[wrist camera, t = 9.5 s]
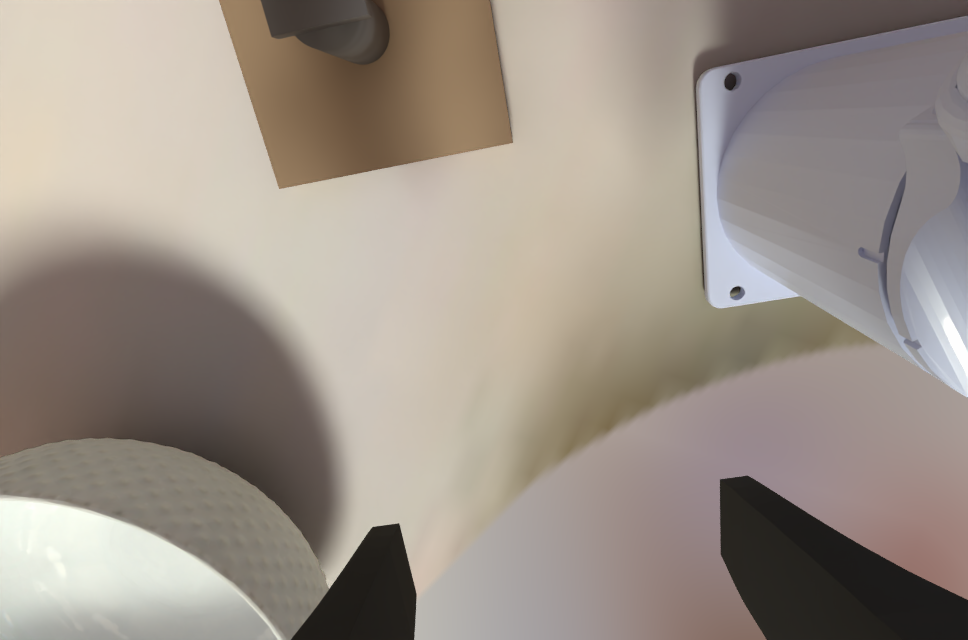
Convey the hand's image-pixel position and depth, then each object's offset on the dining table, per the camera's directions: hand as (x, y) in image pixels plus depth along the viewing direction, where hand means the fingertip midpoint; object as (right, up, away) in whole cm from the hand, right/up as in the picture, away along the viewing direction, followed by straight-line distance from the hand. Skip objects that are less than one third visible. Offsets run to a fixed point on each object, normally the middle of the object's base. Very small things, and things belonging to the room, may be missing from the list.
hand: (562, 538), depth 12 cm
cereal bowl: (-16, -6, +13) cm, 21 cm away
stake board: (-5, +14, +5) cm, 16 cm away
